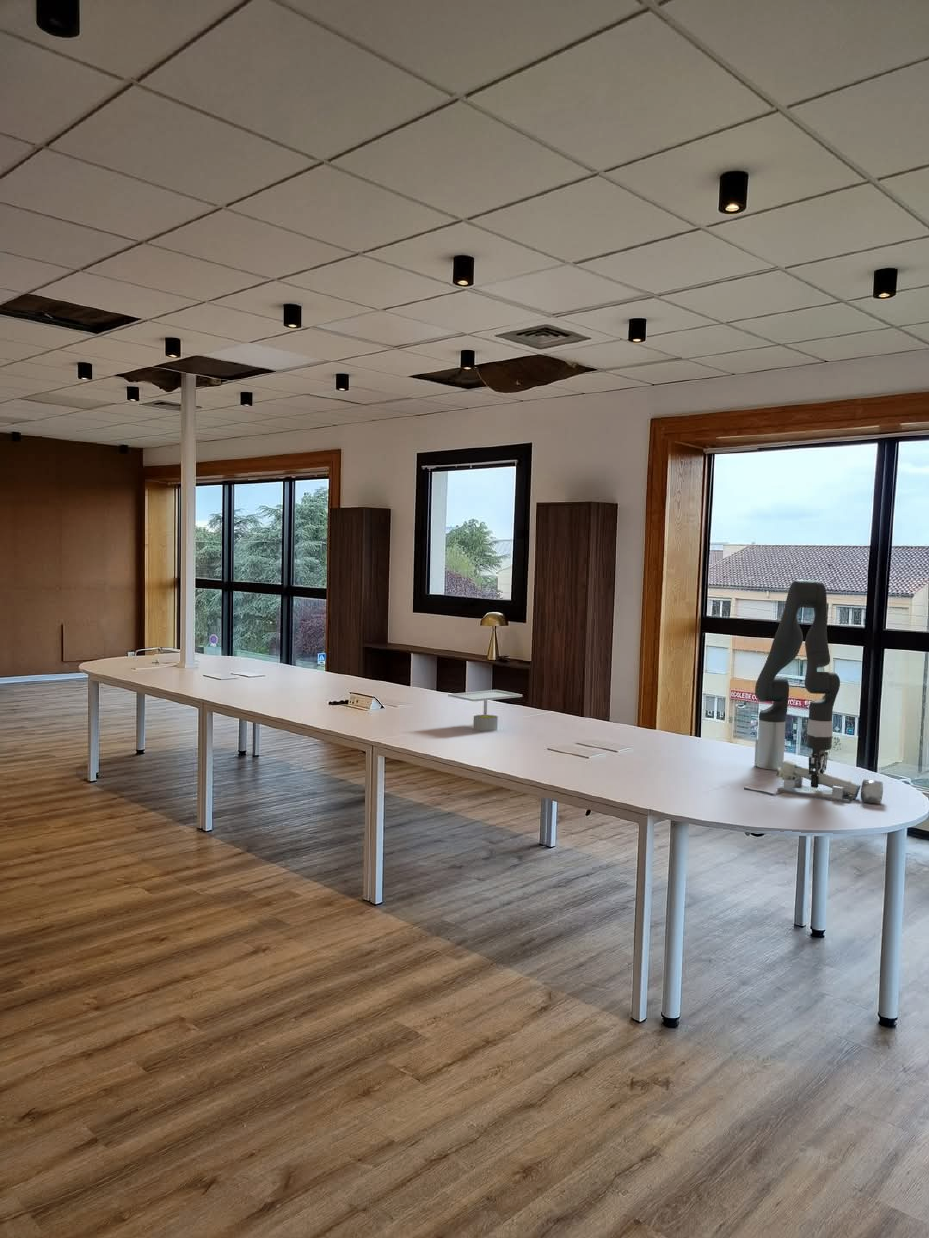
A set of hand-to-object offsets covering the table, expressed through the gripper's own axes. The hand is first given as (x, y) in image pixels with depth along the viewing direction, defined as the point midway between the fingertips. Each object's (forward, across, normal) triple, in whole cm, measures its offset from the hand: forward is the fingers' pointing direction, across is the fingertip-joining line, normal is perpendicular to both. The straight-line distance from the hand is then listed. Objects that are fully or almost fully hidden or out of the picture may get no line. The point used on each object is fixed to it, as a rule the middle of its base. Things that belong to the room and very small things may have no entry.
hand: (816, 785), depth 296 cm
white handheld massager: (+1, 0, 0) cm, 1 cm away
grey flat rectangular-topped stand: (+3, -20, -143) cm, 144 cm away
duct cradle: (+3, 0, +4) cm, 5 cm away
